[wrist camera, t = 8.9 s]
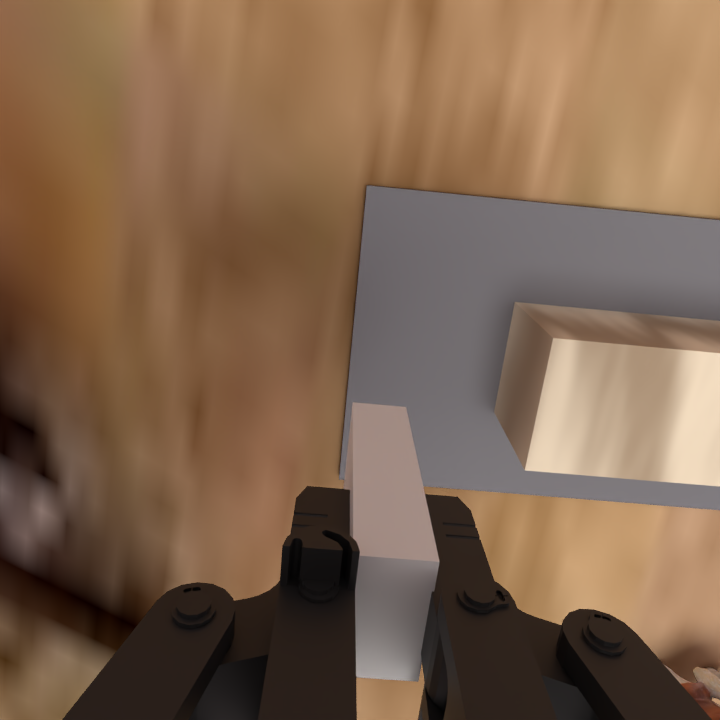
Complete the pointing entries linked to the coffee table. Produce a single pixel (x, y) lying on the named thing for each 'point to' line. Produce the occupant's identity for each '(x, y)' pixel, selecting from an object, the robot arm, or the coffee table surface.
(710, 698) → the bull figurine
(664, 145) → the coffee table surface
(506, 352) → the beech block
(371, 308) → the felt mat
